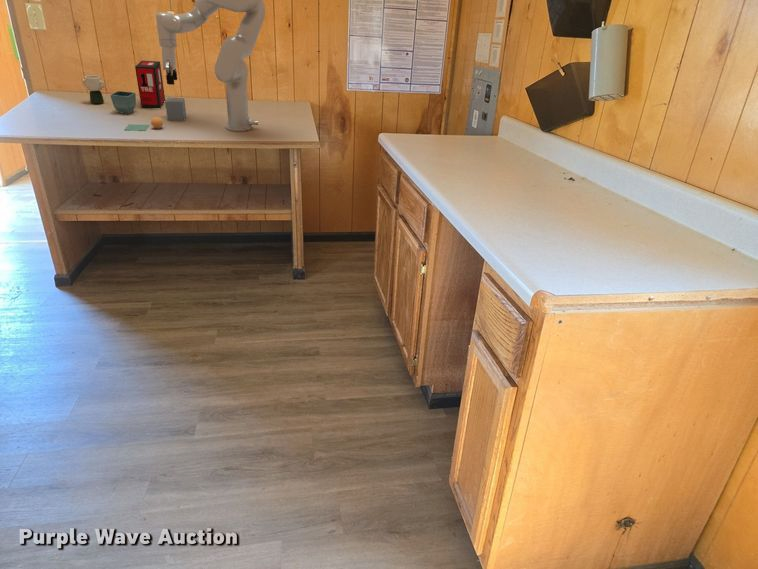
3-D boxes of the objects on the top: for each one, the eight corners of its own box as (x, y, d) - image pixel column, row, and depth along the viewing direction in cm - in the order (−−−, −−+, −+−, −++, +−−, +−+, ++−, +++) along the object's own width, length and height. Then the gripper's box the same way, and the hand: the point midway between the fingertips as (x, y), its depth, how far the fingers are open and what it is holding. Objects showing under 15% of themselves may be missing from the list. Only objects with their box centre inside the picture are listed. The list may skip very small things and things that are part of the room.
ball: (164, 126, 244) (162, 116, 242) (162, 130, 240) (161, 118, 237) (153, 126, 243) (151, 115, 241) (151, 129, 239) (149, 118, 237)
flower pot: (131, 115, 256) (128, 96, 251) (113, 113, 256) (109, 94, 251) (138, 110, 263) (135, 92, 259) (121, 109, 263) (117, 90, 259)
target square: (149, 125, 245) (149, 124, 244) (145, 130, 237) (145, 130, 237) (128, 124, 243) (128, 124, 243) (124, 130, 235) (124, 129, 235)
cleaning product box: (160, 108, 270) (154, 67, 259) (141, 108, 268) (135, 66, 257) (165, 101, 283) (159, 61, 273) (147, 100, 282) (141, 60, 271)
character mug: (111, 102, 273) (106, 76, 266) (104, 105, 267) (99, 78, 260) (90, 100, 273) (85, 74, 266) (83, 103, 267) (77, 76, 260)
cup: (186, 116, 262) (184, 98, 257) (184, 120, 255) (182, 101, 251) (170, 115, 260) (167, 97, 256) (167, 120, 254) (165, 101, 249)
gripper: (162, 39, 246) (166, 77, 255) (155, 45, 232) (160, 85, 241) (179, 40, 248) (183, 78, 257) (173, 46, 234) (178, 86, 243)
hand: (172, 82), depth 249 cm, fingers open, 9 cm apart
